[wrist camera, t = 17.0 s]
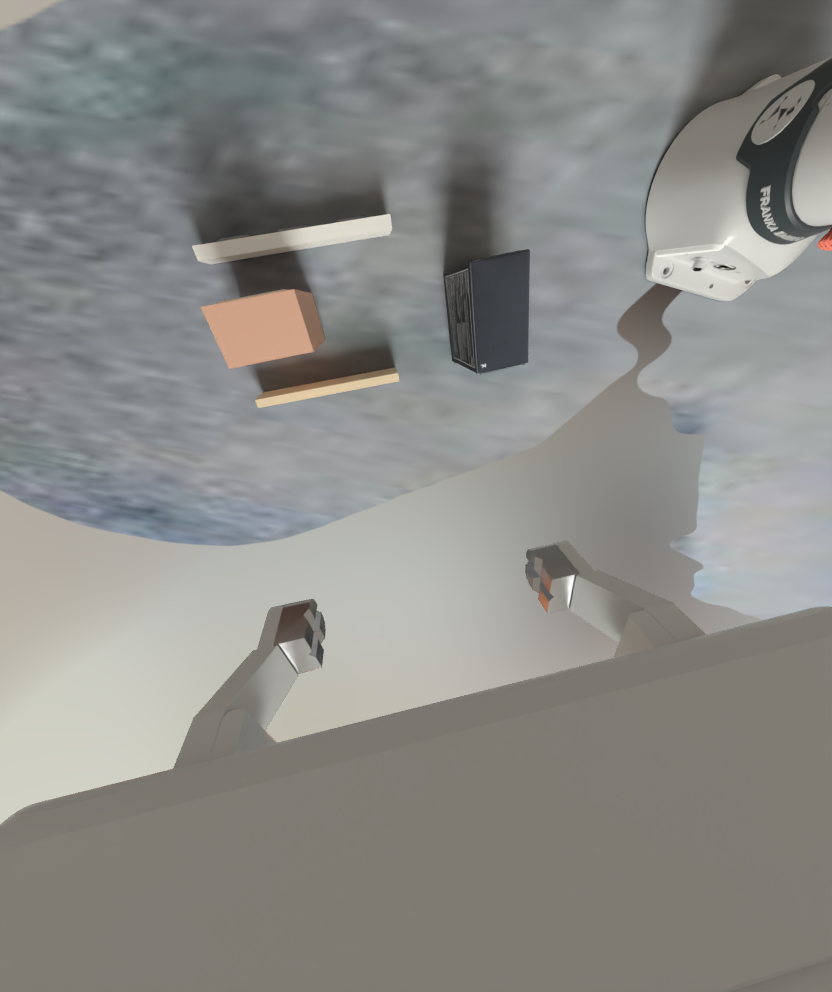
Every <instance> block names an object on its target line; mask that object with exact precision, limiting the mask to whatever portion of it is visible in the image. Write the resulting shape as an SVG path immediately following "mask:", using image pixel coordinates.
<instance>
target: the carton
mask: <svg viewBox="0 0 832 992" xmlns="http://www.w3.org/2000/svg"><path fill="white" fill-rule="evenodd" d="M201 309H202V311H203V313H204V315H205V318H206V320H207V322H208V324H209V326H210V328H211V330H212V333H213V335H214V337H215V339H216V341H217V343H218V345H219V348H220V350H221V352H222V354H223V356H224V358H225V360H226V362H227V365H228V367H229V369H231V368H236V367H241V366H246V365H250V364H255V363H260V362H265V361H270V360H275V359H280V358H285V357H290V356H295V355H300V354H305V353H310V352H314V351H315V350H316V349H317V348H318V347H319V346H320V345H321V344H322V342H323V341H324V340H325V336H324V333H323V330H322V326H321V323H320V319H319V316H318V313H317V309H316V306H315V302H314V299H313V295H312V293H309V292H304V291H300V290H295V289H292V290H286V289H281V290H276V291H271V292H266V293H261V294H256V295H250V296H245V297H240V298H235V299H230V300H225V301H219V302H216V304H214V305H209V306H204V307H201Z"/></svg>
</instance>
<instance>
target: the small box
mask: <svg viewBox="0 0 832 992" xmlns="http://www.w3.org/2000/svg"><path fill="white" fill-rule="evenodd" d="M529 273H530V250H529V249H526V250H520V251H515V252H510V253H505V254H501V255H496V256H491V257H487V258H482V259H478V260H473V261H470V262H469V263H468V264H465V265H463V266H460V267H458V268H455V269H453V270H449V271H445V272H444V283H445V293H446V303H447V304H446V305H447V313H448V323H449V334H450V342H451V351H452V361H453V362H455V363H458V364H460V365H462V366H464V367H466V368H468V369H470V370H472V371H474V372H475V373H477V374H478V375H481V374H484V373H489V372H493V371H498V370H501V369H506V368H510V367H514V366H519V365H524V364H527V363H528V326H529Z"/></svg>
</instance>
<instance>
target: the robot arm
mask: <svg viewBox="0 0 832 992" xmlns="http://www.w3.org/2000/svg"><path fill="white" fill-rule="evenodd" d="M830 228H831V229H830ZM828 229H830V231H829V232H828V233H827V234H826V235H825V236H824V237H823V238H822V239H821V240H820V241H819V243H818V244H817V246H818V247H819V248H820V249H823V250H828V251H831V250H832V57H831V58H828V59H826V60H823V61H821V62H819V63H816V64H814V65H811V66H809V67H806V68H804V69H802V70H799V71H797V72H795V73H792V74H790V75H788V76H785V77H783V78H781V76H780V75H778V74H775V75H772V76H769V77H767V78H765V79H762V80H761V81H759V82H758V83H756V84H755V85H754V86H752V87H751V88H750V89H749V90H747V91H746V92H745V93H744V94H743V95H741V96H738V97H735V98H732V99H728V100H725V101H721V102H718V103H716V104H714V105H712V106H710V107H708V108H707V109H705V110H703V111H702V112H701V113H699V114H698V115H697V116H696V117H695V118H693V119H692V120H691V121H690V122H689V123H688V124H687V125H686V126H685V128H684V129H683V130H682V131H681V132H680V133H679V135H678V136H677V137H676V139H675V140H674V141H673V143H672V144H671V146H670V148H669V149H668V151H667V152H666V154H665V156H664V158H663V160H662V162H661V164H660V166H659V168H658V170H657V173H656V175H655V178H654V180H653V183H652V186H651V190H650V193H649V198H648V203H647V209H646V234H647V240H648V247H649V252H648V258H647V264H646V278H647V279H648V280H649V281H652V282H656V283H659V284H663V285H667V286H670V287H673V288H677V289H680V290H684V291H687V292H691V293H694V294H698V295H701V296H705V297H708V298H712V299H715V300H719V301H731V300H733V299H735V298H736V297H738V296H739V295H740V294H742V293H743V292H744V291H745V290H747V289H748V288H749V287H750V286H751V285H752V284H753V283H754V282H755V281H756V280H757V279H764V278H769V277H771V276H773V275H775V274H777V273H779V272H780V271H782V270H783V269H785V268H786V267H787V266H788V265H790V264H791V263H792V262H793V261H794V260H795V259H796V258H797V257H798V256H799V255H800V254H801V253H802V252H803V251H804V250H805V249H806V248H807V247H808V245H809V244H810V243H811V242H812V241H813V240H814V238H815V237H816V236H817V235H818V234H819V233H821V232H823V231H825V230H828ZM664 269H665V272H664V273H663V271H664ZM526 558H527V559H528V561H529V562H528V563H527V564H526V565H525V566H526V567H525V573H526V577H527V580H528V583H529V584H530V586H531V588H532V589H533V590H534V591H536V592H538V593H539V596H538V599H539V601H540V603H541V604H542V606H543V608H544V609H545V611H546V612H547V613H553V612H557V611H562V610H567V609H570V611H572V612H573V613H575V614H576V615H578V616H579V617H581V618H582V619H584V620H585V621H587V622H588V623H589V624H591V625H592V626H594V627H596V628H597V629H598V630H600V631H601V632H603V633H604V634H606V635H607V636H609V637H610V638H612V639H613V640H615V641H616V642H618V643H619V645H618V647H617V650H616V653H615V656H614V658H612V659H608V660H604V661H600V662H596V663H592V664H588V665H584V666H580V667H576V668H572V669H568V670H565V671H560V672H556V673H552V674H548V675H544V676H540V677H536V678H533V679H529V680H524V681H520V682H516V683H512V684H508V685H504V686H501V687H497V688H493V689H488V690H484V691H480V692H477V693H473V694H469V695H465V696H461V697H457V698H453V699H449V700H445V701H441V702H437V703H433V704H429V705H425V706H421V707H417V708H413V709H409V710H405V711H401V712H397V713H393V714H390V715H386V716H382V717H377V718H373V719H370V720H366V721H362V722H358V723H354V724H350V725H346V726H342V727H338V728H334V729H330V730H326V731H322V732H318V733H314V734H310V735H306V736H302V737H298V738H294V739H291V740H286V741H282V742H278V743H277V742H276V741H275V740H274V739H273V738H272V737H271V736H270V735H269V734H268V733H267V732H266V729H267V727H268V725H269V724H270V722H271V721H272V719H273V717H274V716H275V714H276V712H277V711H278V709H279V707H280V705H281V704H282V702H283V700H284V699H285V697H286V695H287V694H288V692H289V690H290V689H291V687H292V685H293V684H294V682H295V680H296V679H297V677H298V674H300V673H304V672H308V671H312V670H315V669H319V668H322V663H323V653H324V649H323V647H322V646H321V643H322V642H323V640H324V639H325V631H326V630H325V621H324V618H323V615H322V613H321V612H319V611H317V603H316V602H315V600H314V599H309V600H304V601H299V602H294V603H290V604H285V605H281V606H276V607H272V608H271V609H270V610H269V611H268V614H267V617H266V621H265V625H264V628H263V631H262V634H261V638H260V641H259V645H258V648H257V650H254V651H252V652H251V653H250V655H249V656H248V657H247V658H246V659H245V660H244V661H243V663H242V664H241V665H240V666H239V667H238V668H237V669H236V670H235V672H234V673H233V674H232V675H231V676H230V678H229V679H228V680H227V681H226V682H225V683H224V684H223V685H222V687H221V688H220V689H219V690H218V691H217V692H216V693H215V694H214V696H213V697H212V698H211V699H210V700H209V701H208V702H207V704H206V705H205V706H204V707H203V708H202V709H201V710H200V711H199V713H198V714H197V715H196V716H195V717H194V718H193V721H192V723H191V726H190V728H189V731H188V733H187V736H186V738H185V741H184V743H183V746H182V748H181V751H180V753H179V756H178V758H177V761H176V763H175V766H174V768H173V769H171V770H167V771H163V772H159V773H155V774H151V775H147V776H143V777H139V778H135V779H131V780H127V781H123V782H119V783H115V784H111V785H107V786H103V787H99V788H95V789H91V790H87V791H83V792H79V793H75V794H71V795H67V796H63V797H59V798H55V799H51V800H46V801H42V802H39V803H35V804H32V805H30V806H27V807H25V808H23V809H21V810H19V811H17V812H16V813H15V814H13V815H12V816H10V817H9V818H8V819H7V820H5V821H4V822H3V823H2V824H0V992H832V607H815V608H810V609H806V610H802V611H798V612H794V613H790V614H786V615H782V616H778V617H774V618H770V619H766V620H762V621H759V622H754V623H751V624H746V625H743V626H739V627H735V628H731V629H727V630H723V631H719V632H715V633H711V634H707V635H706V634H705V633H704V632H703V631H702V630H701V629H700V628H699V627H697V625H696V624H694V623H693V622H692V621H691V620H690V619H689V618H688V617H687V616H686V615H685V614H684V613H683V612H682V611H681V610H680V609H679V608H678V607H677V606H675V604H674V603H672V602H670V601H668V600H666V599H664V598H661V597H659V596H657V595H655V594H652V593H650V592H648V591H646V590H643V589H641V588H639V587H636V586H634V585H632V584H630V583H627V582H625V581H623V580H621V579H618V578H616V577H614V576H611V575H609V574H607V573H605V572H602V571H600V570H594V569H593V568H592V567H591V566H590V565H589V564H588V563H587V562H586V560H585V559H584V558H583V557H582V556H581V555H580V554H579V553H578V552H577V550H576V549H575V548H574V547H573V546H572V545H571V544H570V543H569V542H568V541H562V542H558V543H554V544H549V545H545V546H540V547H536V548H532V549H528V550H527V552H526Z"/></svg>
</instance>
